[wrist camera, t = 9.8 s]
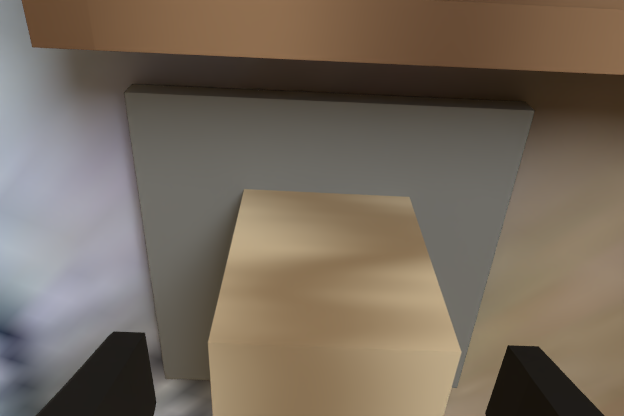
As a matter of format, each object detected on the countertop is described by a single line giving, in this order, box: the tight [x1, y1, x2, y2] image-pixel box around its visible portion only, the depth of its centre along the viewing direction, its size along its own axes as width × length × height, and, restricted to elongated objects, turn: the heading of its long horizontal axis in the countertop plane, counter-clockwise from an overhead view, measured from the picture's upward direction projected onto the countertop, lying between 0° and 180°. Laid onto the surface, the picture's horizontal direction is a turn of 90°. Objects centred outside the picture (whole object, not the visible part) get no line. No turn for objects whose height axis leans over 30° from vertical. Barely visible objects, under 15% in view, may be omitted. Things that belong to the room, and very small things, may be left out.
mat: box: [124, 84, 535, 388], centre depth 14 cm, size 9×9×1 cm
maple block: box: [208, 189, 461, 416], centre depth 11 cm, size 4×4×5 cm
